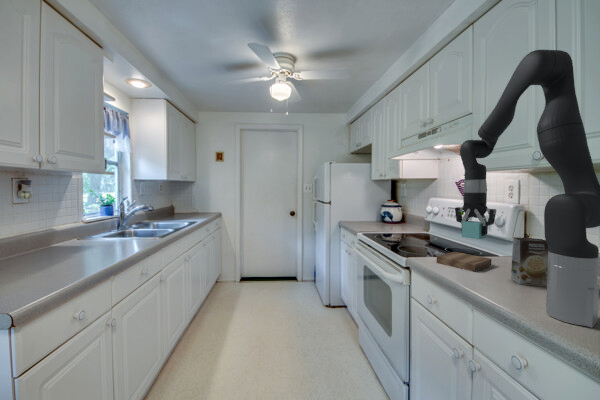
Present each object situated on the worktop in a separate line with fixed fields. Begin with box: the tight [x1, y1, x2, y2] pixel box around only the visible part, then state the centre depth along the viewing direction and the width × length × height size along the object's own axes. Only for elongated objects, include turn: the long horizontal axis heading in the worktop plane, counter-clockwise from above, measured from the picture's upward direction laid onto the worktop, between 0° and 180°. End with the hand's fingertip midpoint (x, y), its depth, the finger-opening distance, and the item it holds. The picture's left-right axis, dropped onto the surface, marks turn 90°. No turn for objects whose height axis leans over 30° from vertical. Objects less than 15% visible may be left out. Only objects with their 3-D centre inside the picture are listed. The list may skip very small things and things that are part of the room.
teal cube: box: [461, 220, 487, 240], centre depth 102 cm, size 6×6×6 cm
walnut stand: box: [436, 251, 492, 272], centre depth 119 cm, size 16×16×3 cm
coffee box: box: [510, 236, 548, 288], centre depth 95 cm, size 9×6×16 cm
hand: (474, 234), depth 102 cm, fingers closed on teal cube, 6 cm apart
